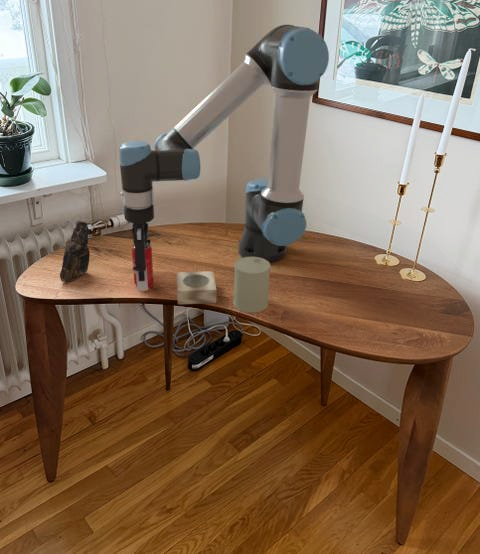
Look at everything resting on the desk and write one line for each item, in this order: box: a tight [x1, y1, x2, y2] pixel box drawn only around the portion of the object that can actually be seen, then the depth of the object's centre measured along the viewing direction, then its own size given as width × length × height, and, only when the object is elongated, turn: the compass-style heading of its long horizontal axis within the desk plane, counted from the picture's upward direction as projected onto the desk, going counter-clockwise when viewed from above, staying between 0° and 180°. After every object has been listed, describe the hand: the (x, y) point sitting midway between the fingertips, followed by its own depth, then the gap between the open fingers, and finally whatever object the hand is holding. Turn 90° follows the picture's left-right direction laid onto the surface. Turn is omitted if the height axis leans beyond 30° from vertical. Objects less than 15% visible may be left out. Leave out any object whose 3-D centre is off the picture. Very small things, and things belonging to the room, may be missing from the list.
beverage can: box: [131, 242, 154, 289], centre depth 141 cm, size 5×5×12 cm
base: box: [176, 270, 217, 305], centre depth 139 cm, size 10×10×4 cm
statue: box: [59, 220, 91, 283], centre depth 144 cm, size 6×12×15 cm, turn 155°
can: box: [233, 257, 271, 314], centre depth 134 cm, size 9×9×12 cm
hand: (143, 277), depth 143 cm, fingers open, 13 cm apart
